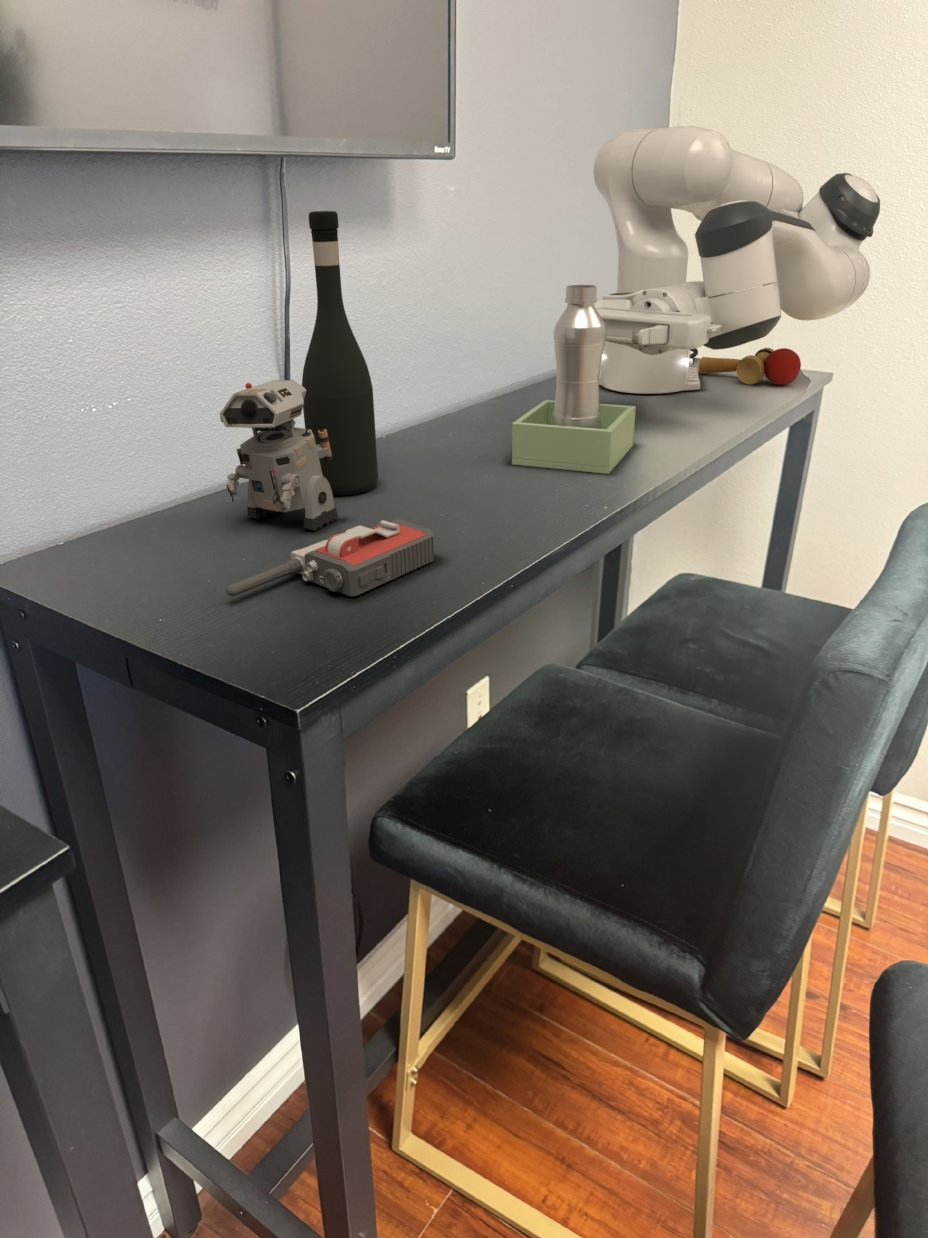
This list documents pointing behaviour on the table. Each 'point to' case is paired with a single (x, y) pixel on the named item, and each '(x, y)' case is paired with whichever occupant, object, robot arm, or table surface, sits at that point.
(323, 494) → the figurine
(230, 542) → the table surface
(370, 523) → the table surface
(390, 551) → the walkie-talkie
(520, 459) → the bin
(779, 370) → the kendama
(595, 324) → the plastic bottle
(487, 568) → the table surface
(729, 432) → the table surface
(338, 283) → the wine bottle
